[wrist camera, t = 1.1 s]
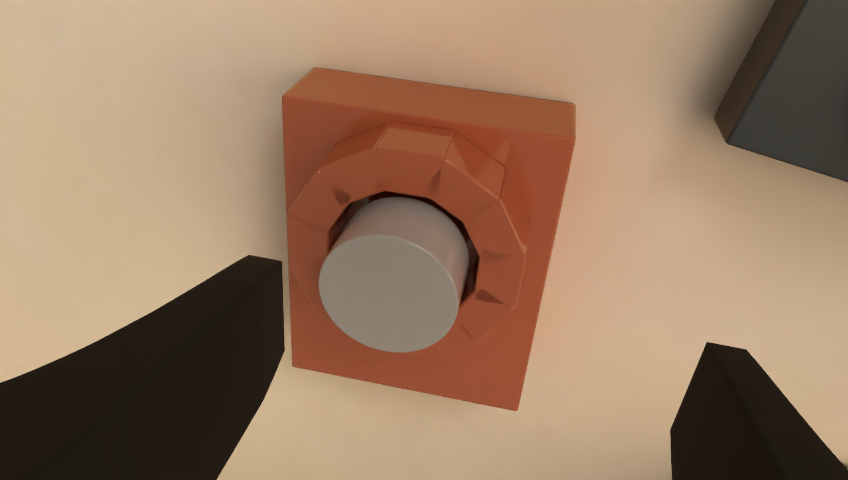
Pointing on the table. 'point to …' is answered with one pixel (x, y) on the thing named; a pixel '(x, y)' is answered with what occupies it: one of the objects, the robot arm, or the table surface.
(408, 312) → the gray push button
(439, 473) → the table surface
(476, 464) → the table surface
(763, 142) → the dark gray socket plate
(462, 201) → the orange knob plate
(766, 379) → the robot arm
